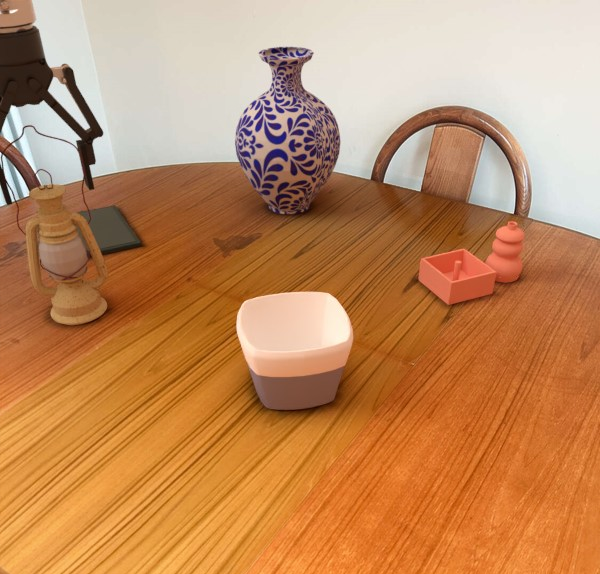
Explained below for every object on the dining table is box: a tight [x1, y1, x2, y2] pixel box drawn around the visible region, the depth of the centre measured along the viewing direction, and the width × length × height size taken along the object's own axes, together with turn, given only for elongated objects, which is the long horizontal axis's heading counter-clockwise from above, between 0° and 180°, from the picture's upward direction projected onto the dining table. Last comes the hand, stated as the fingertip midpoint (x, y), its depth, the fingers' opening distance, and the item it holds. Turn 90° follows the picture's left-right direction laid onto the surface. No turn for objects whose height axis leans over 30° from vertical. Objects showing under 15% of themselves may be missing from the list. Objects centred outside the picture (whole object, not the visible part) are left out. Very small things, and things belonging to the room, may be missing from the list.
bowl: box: [235, 291, 354, 411], centre depth 90 cm, size 15×15×11 cm
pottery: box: [417, 221, 526, 306], centre depth 114 cm, size 18×10×10 cm, turn 114°
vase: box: [234, 46, 341, 215], centre depth 133 cm, size 22×22×30 cm
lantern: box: [0, 124, 109, 326], centre depth 100 cm, size 12×10×30 cm
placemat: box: [73, 204, 143, 258], centre depth 132 cm, size 16×20×1 cm
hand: (50, 193), depth 97 cm, fingers closed on lantern, 11 cm apart
